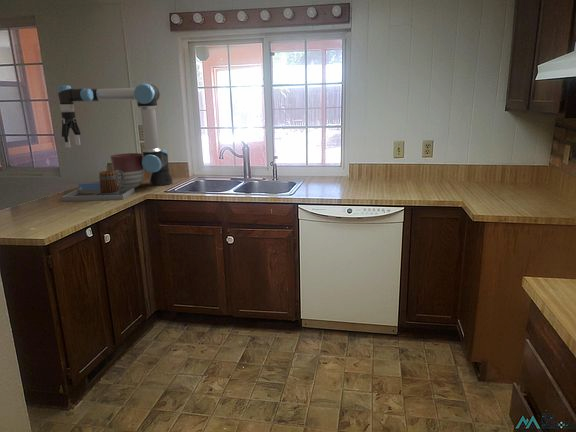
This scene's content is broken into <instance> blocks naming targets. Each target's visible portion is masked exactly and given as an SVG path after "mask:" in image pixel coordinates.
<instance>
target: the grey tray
mask: <svg viewBox="0 0 576 432" xmlns="http://www.w3.org/2000/svg"><path fill="white" fill-rule="evenodd" d="M77 184H78V189H75V190H73V191H71V192H69V193H67V194H65V195H63V196H61V198H60V199H61V202H75V201H76V202H78V201H80V202H81V201H109V200H111V201H112V200H115V201H116V200H117V201H118V200H125V199H126V198H128V197H129V196H131V195H132V194H134V193H135V188H123V187H121V188H120V190H123V192H122V193H121V194H119V195H100V182H89V183H88V182H87V183H82V182H81V183H77ZM79 194H92V195H79Z"/></svg>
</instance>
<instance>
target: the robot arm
mask: <svg viewBox="0 0 576 432" xmlns="http://www.w3.org/2000/svg"><path fill="white" fill-rule="evenodd" d="M57 95H58V101H59V108H60V114H61V118H62V120H61V123H62V124H61V125H62V126H61V137H62V138H64V140H63V141H64V147H65V148H66V149H67V148H69V149H70V148H71V140H70V136H69V133H70V129H71V130H72V132H73V135H74V136H73V137H74V143H75V146H81V140H80V135H81V130H80V127H79V125H78V123H77V119H76V112H75V105H74V102H106V101H107V102H110V101H111V102H112V101H114V102H116V101H117V102H120V101H136V102H137V103H136V104H137V108H138V109H140V115H141V127H142V134H143V135H142V137H143V142H144V143H143V144H144V149H143V150H142V154H143V159H142V166H143V168H144V171H146V172H148V173H151V174H150V177H149V178H150V179H149V185H150V186H157V187H158V186H159V187H160V186H167V185H171V184H173V183H174V180H173V178H172V175H171V173H170V167H169V155H168V151H167V149H161V148H160V145H159V144H160V143H159V134H158V125H157V117H156V115H157V114H156V108H158V101H159V99H160V95H161V94H160V89H159V87H157V86H156V85H154V84H150V83H140V84H138V85H137V86H136V87H124V88H123V87H120V88H118V87H117V88H85V87H84V88H72V86H71V85H58V86H57Z"/></svg>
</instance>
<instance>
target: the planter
mask: <svg viewBox="0 0 576 432" xmlns="http://www.w3.org/2000/svg"><path fill="white" fill-rule="evenodd" d="M142 159H143V153H139V152H138V153H137V152H135V153H133V152H132V153H129V152H128V153H117V154H112V155H110V162H111V163H110V164H111V168H112V171H114V172H115V171H117V170H120V171H122V172H123V173H124V183H123V185H122V186H121V188H134V189H135V188H137V187H139V186H140V185H141V184H142V183H143V180H144V175H145V172H144V171H145V169H144V168H143V166H142ZM117 177H118V179H116V181H117V185H119V184H120V183H121V173H120V172H118V173H117Z"/></svg>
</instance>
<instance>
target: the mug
mask: <svg viewBox="0 0 576 432" xmlns="http://www.w3.org/2000/svg"><path fill="white" fill-rule="evenodd" d="M118 172H120V173H121V183H120V184H118V183H117V181H116V179H118V177H117V173H118ZM98 173H99V174H98V176H99V178H98V179H99V183H100V195H120V194H123V193H124V192H123V190H120V188H122V187H121V186H122V185H123V183H124V173H123V172H122V171H120V170H117V171H115V172H114V171H113V170H106V171H105V170H103V171H99V172H98Z"/></svg>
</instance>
